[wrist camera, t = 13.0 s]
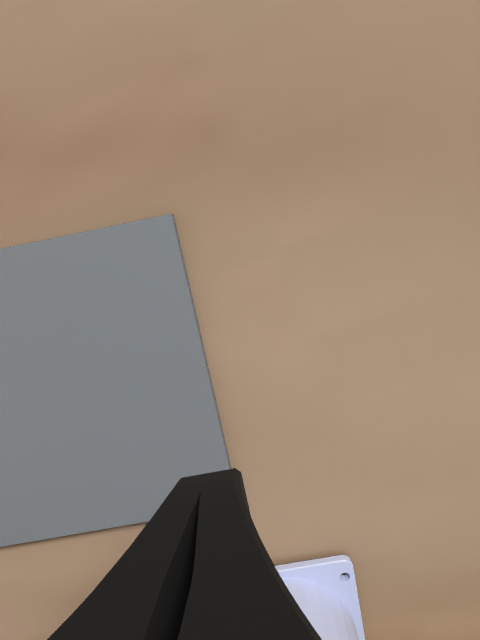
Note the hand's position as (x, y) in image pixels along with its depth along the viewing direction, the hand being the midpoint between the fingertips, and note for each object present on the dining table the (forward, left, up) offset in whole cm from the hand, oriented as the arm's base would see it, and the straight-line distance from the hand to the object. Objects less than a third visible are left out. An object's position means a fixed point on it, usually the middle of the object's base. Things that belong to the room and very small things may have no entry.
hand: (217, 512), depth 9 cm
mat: (0, +11, -10) cm, 15 cm away
